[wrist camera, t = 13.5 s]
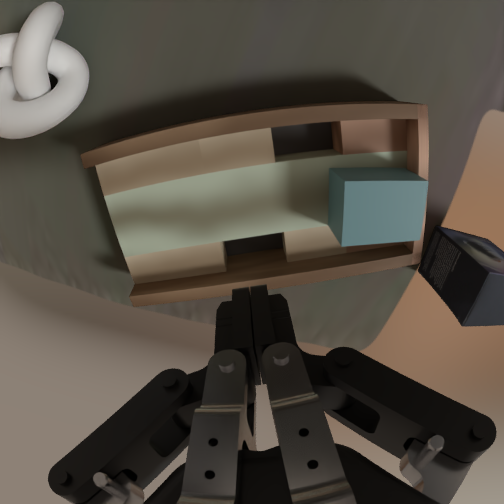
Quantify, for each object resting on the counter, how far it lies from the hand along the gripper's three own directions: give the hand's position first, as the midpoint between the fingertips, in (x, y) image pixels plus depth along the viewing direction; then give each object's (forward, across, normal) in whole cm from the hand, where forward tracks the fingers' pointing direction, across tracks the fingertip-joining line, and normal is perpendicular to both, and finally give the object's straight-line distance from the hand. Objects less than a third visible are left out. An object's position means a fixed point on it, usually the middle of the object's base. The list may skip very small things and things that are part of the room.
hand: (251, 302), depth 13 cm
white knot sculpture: (+16, +16, -15) cm, 27 cm away
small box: (+16, -25, +10) cm, 31 cm away
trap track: (+16, -2, 0) cm, 16 cm away
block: (+13, -10, +1) cm, 16 cm away
